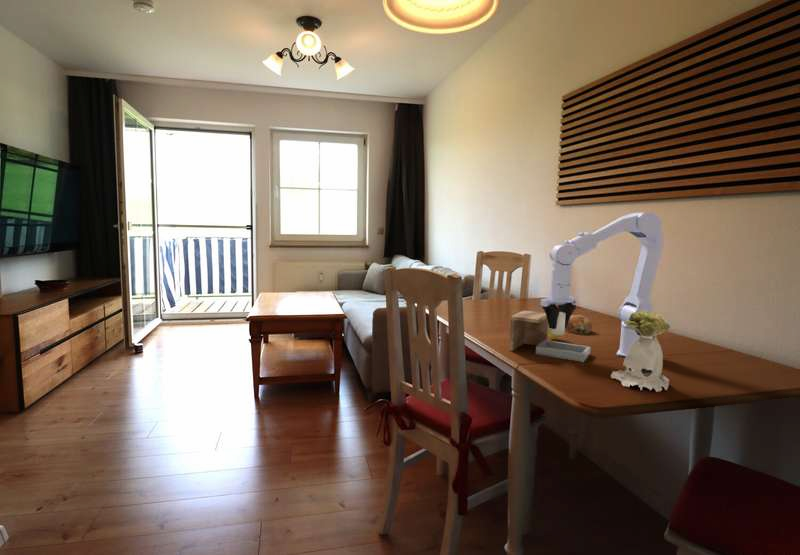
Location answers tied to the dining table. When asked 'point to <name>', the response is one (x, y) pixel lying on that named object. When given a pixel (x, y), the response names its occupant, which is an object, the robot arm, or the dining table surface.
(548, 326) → the lemon
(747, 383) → the dining table surface
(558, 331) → the beige rounded lump
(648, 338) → the potted plant vase
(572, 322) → the bread roll
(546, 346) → the tray
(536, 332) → the counter shelf
